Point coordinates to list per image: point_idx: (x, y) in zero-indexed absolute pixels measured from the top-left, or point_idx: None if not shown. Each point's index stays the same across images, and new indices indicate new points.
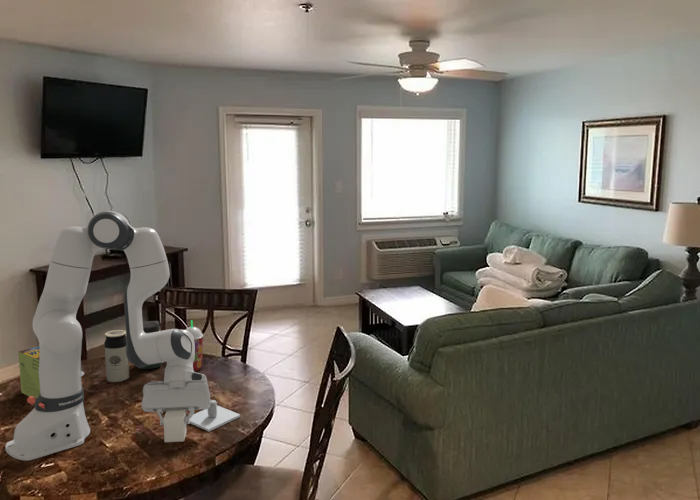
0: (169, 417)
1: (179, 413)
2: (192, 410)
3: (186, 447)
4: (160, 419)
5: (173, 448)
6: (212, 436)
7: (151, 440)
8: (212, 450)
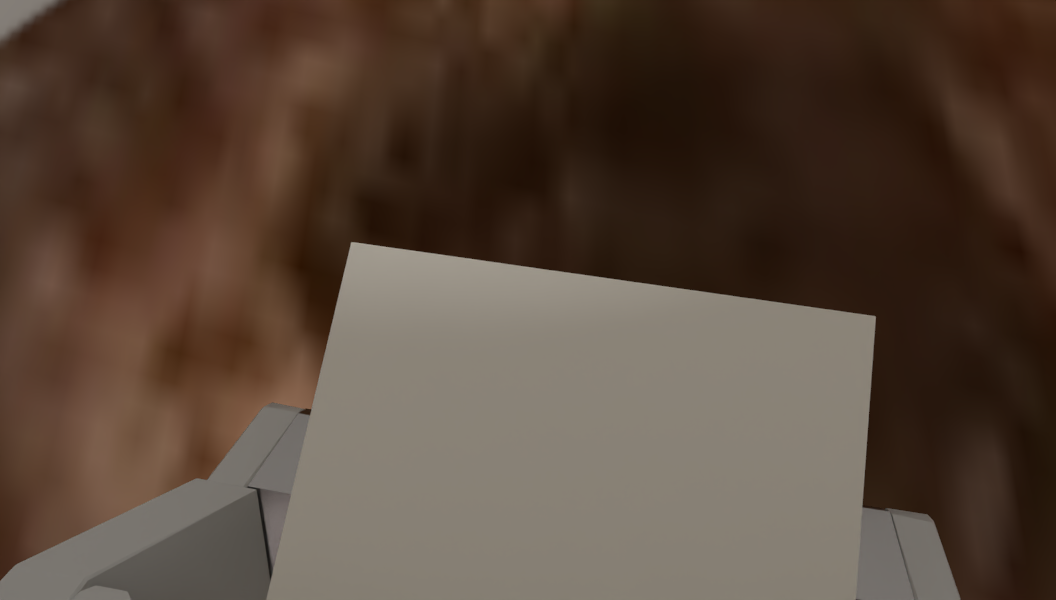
0: (711, 343)
1: (425, 537)
2: (39, 578)
3: (443, 182)
4: (946, 573)
5: (613, 197)
6: (65, 402)
7: (963, 537)
8: (149, 37)
